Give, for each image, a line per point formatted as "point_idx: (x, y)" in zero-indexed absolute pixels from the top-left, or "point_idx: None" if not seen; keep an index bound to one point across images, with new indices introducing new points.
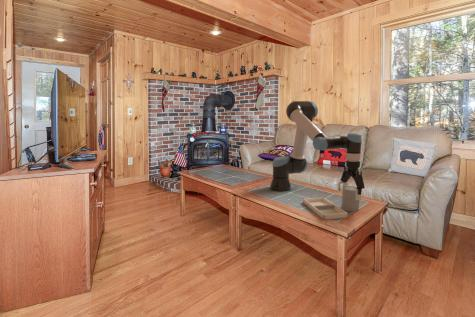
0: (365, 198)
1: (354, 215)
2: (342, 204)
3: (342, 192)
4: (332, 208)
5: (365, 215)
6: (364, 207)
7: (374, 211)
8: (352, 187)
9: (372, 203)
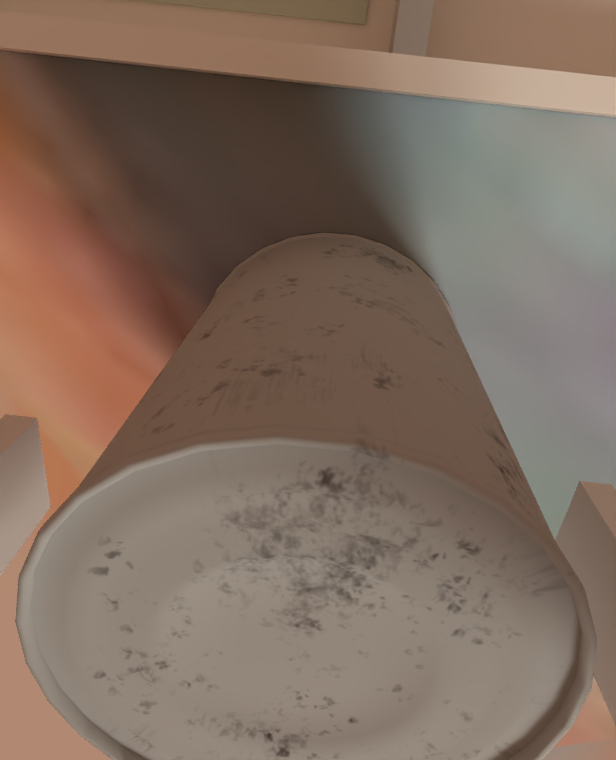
0: (564, 736)
1: (36, 228)
2: (360, 258)
3: (441, 388)
4: (394, 16)
5: (29, 376)
6: None
7: None
8: (384, 745)
9: None
